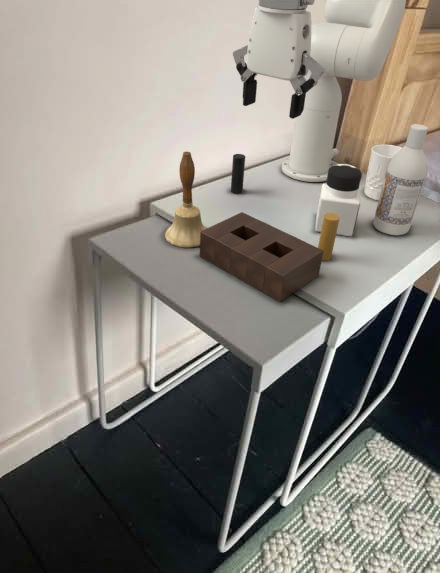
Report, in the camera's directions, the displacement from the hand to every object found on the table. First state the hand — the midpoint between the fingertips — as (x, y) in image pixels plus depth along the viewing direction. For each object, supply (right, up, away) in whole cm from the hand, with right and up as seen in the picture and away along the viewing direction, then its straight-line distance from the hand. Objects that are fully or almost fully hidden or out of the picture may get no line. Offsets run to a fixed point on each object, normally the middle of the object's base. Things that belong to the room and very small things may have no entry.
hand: (271, 110), depth 88 cm
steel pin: (-6, -11, +20) cm, 23 cm away
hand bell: (-15, -22, +4) cm, 27 cm away
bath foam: (+24, -20, +10) cm, 33 cm away
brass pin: (+9, -26, 0) cm, 28 cm away
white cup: (+26, -11, +22) cm, 36 cm away
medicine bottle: (+13, -20, +9) cm, 25 cm away
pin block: (-3, -28, -3) cm, 28 cm away
